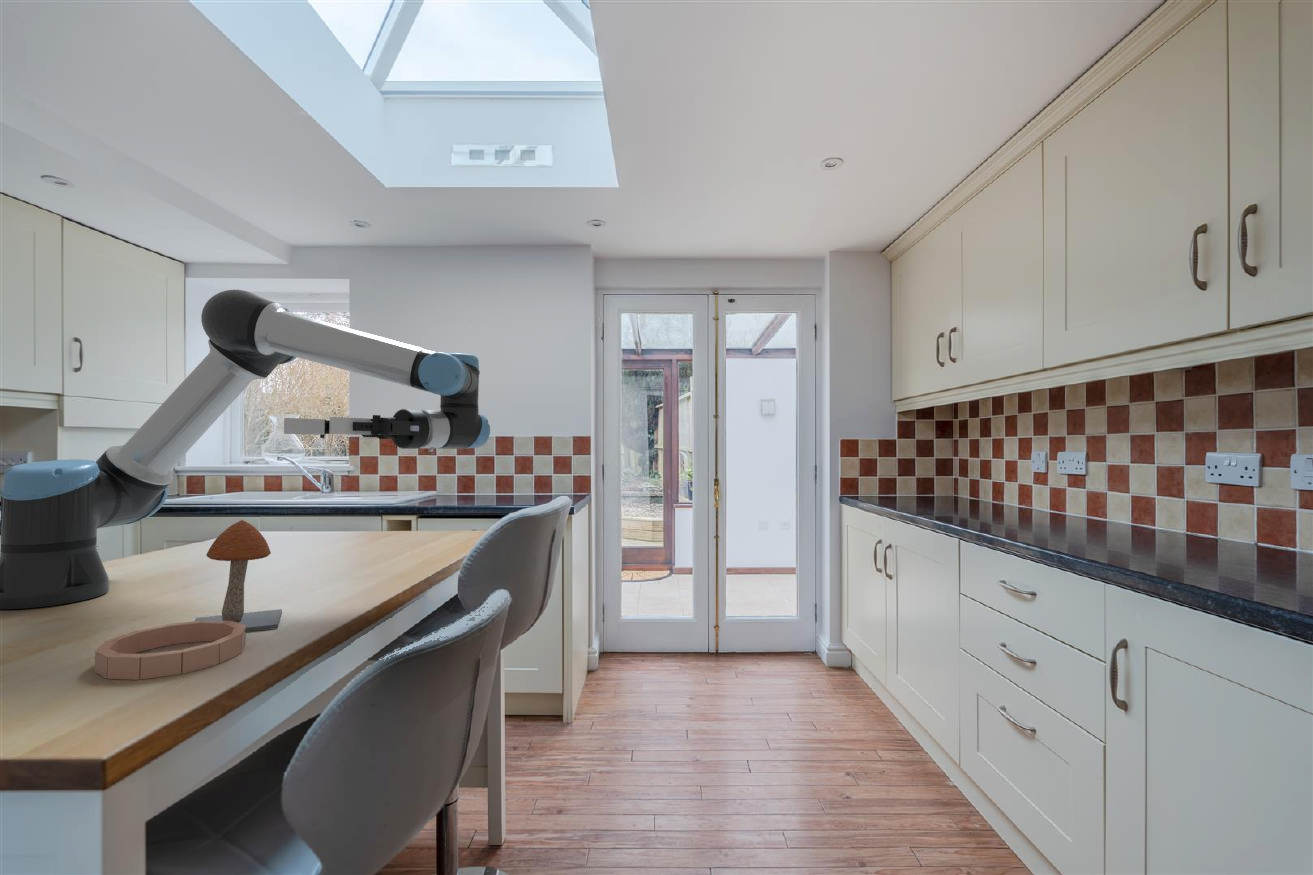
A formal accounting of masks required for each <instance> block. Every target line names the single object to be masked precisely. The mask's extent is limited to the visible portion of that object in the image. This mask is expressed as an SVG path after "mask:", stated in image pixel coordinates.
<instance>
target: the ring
mask: <svg viewBox="0 0 1313 875" xmlns="http://www.w3.org/2000/svg"><path fill="white" fill-rule="evenodd" d="M246 633H247V632H246V626H245V625H243V624H240V623H237V622H234V621H217V620H205V621H204V620H202V621H194V620H193V621H185V622H183V621H182V622H175V623H167V624H162V625H158V626H153V627H147V628H143V629H138V630H134V631H131V632H127V633H124V634H121V635H118V636H116V637H112V638H110V639H107V640H105V641H104V642H103V643H102V644H100V646H98V647H97V648H96V649H95V651H94V673H96V674H98V675H99V676H101V677H103V678H105V679H107V680H146V679H153V678H154V679H155V678H161V677H167V676H175V675H176V676H177V675H181V674H185V673H186V674H187V673H190V672H194V671H197V670H201V669H205V668H209V667H212V666H216V665H217V666H218V665H220V664H223V663H224V662H226V661H228V660H230V659H233V658H234V657H236V656H238V655H241V654H242V653H243V652H244V649H245V645H246ZM188 642H189V643H196V642H207V643H203V644H201V645H200V644H199V645H196V646H191V647H187V648H183V649H176V650H169V651H168V650H167V651H160V652H152V653H140V652H144V651H148V650H153V649H156V648H161V646H162V647H166V646H170V645H178V644H189V643H188ZM219 663H220V664H219Z"/></svg>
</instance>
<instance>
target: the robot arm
mask: <svg viewBox="0 0 1313 875" xmlns="http://www.w3.org/2000/svg"><path fill="white" fill-rule="evenodd" d="M200 318H201V319H200V320H201V325H202V329H203V330H204V332H205V335H206V336H207V337H208V338H209V339H208V341H207V342H208V348H209V352H208V354H207V355H206V356H205V357H204V358H203V359H202V360H201V362H199V364H198V365H197V366H196V367H195V368H194V369H193V370H192V371H191V372H190V373H189V375H188V376H186V377H185V379H184V380H183V381H182V382H181V383H180V384H179V385H178V386H177V387H176V388H175V389H174V391H173V392H172V393H171V394H169V395H168V397H167V398H166V399H165V400H164V401H163V402H162V403H161V404H160V405H159V407H158V408H157V409H156V410H155V411H154V412H153V414H151V416H150V417H148V418H147V420H146V421H145V422H144V423H143V424H142V425H141V426H140V428H139V429H138V430H136V432H135V433H134V434H133V435H132V436H131V437H130V438H129V440H127V442H126V443H124V444H123V445H113V446H110V447H108V448H107V449H106V450H105V451H104V453H103V452H102V454H101V455H100V456H99V457H98V459H96V461H95V460H91V459H80V458H79V459H75V458H74V459H55V460H49V461H48V460H47V461H44V460H43V461H34V462H27V463H22V464H16V465H14V466H11V467H9V468H8V469H7V470H5V472H4V473H3V475H2V484H1V488H0V610H19V609H20V610H21V609H23V610H24V609H34V608H43V607H51V606H58V605H63V604H64V605H65V604H72V603H77V602H81V601H85V600H90V599H93V598H98V597H100V596H102V595H105V594H108V592H109V591H110V579H109V576H108V574H107V571H106V568H105V566H104V564H103V561H102V559H101V557H100V554H99V552H98V548H97V536H98V529H104V528H110V527H116V526H123V525H130V524H133V523H137V522H139V521H143V520H145V519H148V518H149V517H151V516H153V515H154V514H156V513H157V512H158V511H159V510H160V509H161V508H162V507H163V506H164V504H165V502H166V501H167V498H168V494H169V492H168V491H167V489H168V488H169V486H170V484H171V483H172V482H173V480H174V477H173V473H172V469H173V468H174V467H175V466H176V464H178V462H180V460H181V459H183V457H184V456H185V455H186V454H187V453H188V452H189V451H190V450H191V448H192V447H193V446H194V445H195V444H196V442H198V441H199V440H200V438H202V437H203V435H204V434H205V433H206V432H207V431H208V429H209V428H210V427H211V426H212V425H213V424H215V422H217V420H218V419H219V417H220V416H221V415H223V413H224V412H225V411H226V410H227V409H228V408H229V407H230V405H231V404H232V403H233V402H234V401H235V400H236V399H237V398H238V397H239V396H240V395H241V394H242V393H243V391H244V390H245V389H246V388H247V387H248V386H249V384H251V382H252V381H254V380H266V379H267V378H268V376H270V374H271V373H273V371H274V370H275V369H277V366H279V365H284V364H288V363H290V362H292V361H294V360H296V359H302V360H306V361H310V362H314V363H318V364H321V365H325V366H329V367H333V368H337V369H341V370H345V371H348V372H353V373H356V374H360V375H363V376H368V377H371V378H375V379H378V380H379V379H380V380H383V381H387V382H391V383H395V384H399V385H402V386H407V387H411V388H413V389H417V390H421V391H423V392H429V393H432V394H434V395H439V396H440V404H439V408H440V410H432V409H431V410H429V409H420V410H419V409H409V408H402V409H399V410H398V411H396V412H395V413H394V415H393V416H392V417H381V415H380V414H379V415H378V414H372V418H364V417H363V418H362V417H343V416H342V417H341V416H340V417H339V416H338V417H337V416H329V419H328V420H327V419H323V418H322V419H321V418H302V417H301V418H297V417H284V418H283V435H315V436H316V435H317V436H318V435H319V436H320V437H319V438H320V439H326V438H325V436H326V435H358V436H361V437H362V438H377V439H379V440H380V439H382V440H392V443H393V444H394V445H395V446H396V447H397V448H399V449H404V450H407V449H408V450H411V449H414V450H417V449H428V452H430V453H431V452H434V450H435V449H451V450H452V449H453V450H454V449H455V450H458V449H460V450H467V449H476V448H477V449H478V448H481V447H483V446H484V445H485V444H486V443H487V442H488V440H489V437H490V435H491V424H489V420H488V418H487V417H486V416H485V414H484V415H483V414H482V413H479V389H480V388H479V386H480V384H479V383H480V373H481V372H480V370H479V369H480V363H479V358H478V357H477V356H476V355H473V354H469V353H460V352H459V353H458V352H449V353H448V352H447V353H446V352H444V351H442V352H441V351H438V352H437V351H434V350H430V349H427V348H426V349H425V348H422V347H421V346H415V345H412V344H408V343H404V342H400V341H398V340H397V341H396V340H393V339H389V338H386V337H384V336H378V335H376V334H371V333H369V332H365V331H360V330H356V329H353V328H350V327H345V326H342V325H338V324H335V323H330V322H327V321H324V320H320V319H316V318H313V317H309V316H305V315H301V314H298V313H294V312H292V311H291V310H289V309H288V308H286V307H285V306H284V305H282V304H281V303H279V302H275V301H272V300H268V299H266V298H264V297H261V296H259V295H257V294H256V293H254V292H250V291H247V290H242V289H228V290H224V291H220V292H218V293H216V294H214V295H213V296H211V297H210V298H208V300H207V301H206V303H205V304H204V306H203V307H202V310H201V317H200Z"/></svg>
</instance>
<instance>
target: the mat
mask: <svg viewBox="0 0 1313 875" xmlns="http://www.w3.org/2000/svg"><path fill="white" fill-rule="evenodd" d="M282 614H283V609H282V608H280V609H269V610H260V611H259V610H258V611H252V612H249V611H248V612H244V613H243V617H242V620H240V621H237V623H240V624H243V625H245V626H246V633H249V632H258V631H266V630H275V629H279V625H280V622H281V618H282ZM202 620H204V621H205V620H217V621H223V619H222V614H219V615H210V616H200V617H199V616H198V617H196V618H195V619H194V620H193V621H202Z"/></svg>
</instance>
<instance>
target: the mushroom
mask: <svg viewBox="0 0 1313 875" xmlns="http://www.w3.org/2000/svg"><path fill="white" fill-rule="evenodd" d="M205 554H206V555H205V556H206V557H207V558H209V559H210V560H215V561H221V562H222V561H224V562H230V563H229V564H230V566H229V576H228V584H227V589H226V592H225V596H224V600H223V605H222V608H221V615H222V619H223V621H234V622H237V621H240V620H242V617H243V613H245V583H246V582H245V581H246V580H245V579H246V575H247V569H248V563H249V561H255V560H260V559H264V558H267V557H269V556H270V555H271V554H272V553H271V549H270V546H269V544H268V543H267V540H266V539H265V537H264V536H263V534H262V533H261V532H260V531H259V530H258V529H257V528H256V527H255V526H253V525H252V524H251V523H249V522H248V521H246V520H243V519H241V520H239V521H237V522H235V523H232V524H231V525H230V526H228V528H226V529H225V530H224V531H222V532H220V534H219V535H218V536H217V537H216V538H215V540H214V541H213V542H212V544H211V546H210V547H209V549H208V550H207V553H205Z"/></svg>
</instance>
